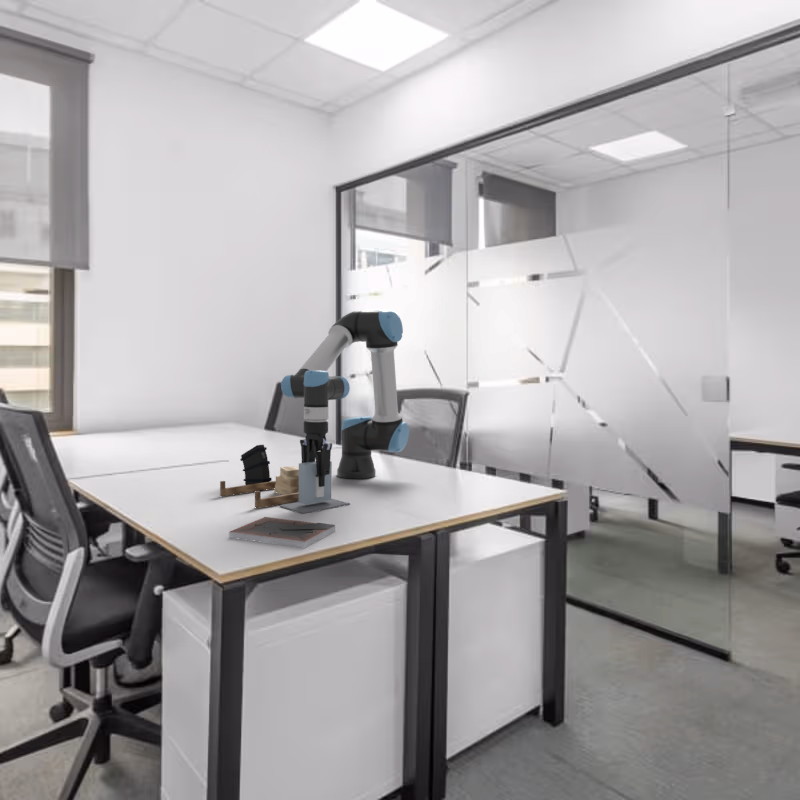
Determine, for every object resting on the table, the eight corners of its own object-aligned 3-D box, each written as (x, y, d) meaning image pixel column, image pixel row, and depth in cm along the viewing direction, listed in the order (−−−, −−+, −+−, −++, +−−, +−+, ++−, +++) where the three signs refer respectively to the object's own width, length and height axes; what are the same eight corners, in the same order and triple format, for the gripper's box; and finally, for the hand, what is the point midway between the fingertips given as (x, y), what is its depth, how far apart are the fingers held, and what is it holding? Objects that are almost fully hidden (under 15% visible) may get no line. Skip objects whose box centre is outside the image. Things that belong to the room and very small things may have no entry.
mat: (326, 498, 203) (326, 497, 203) (349, 504, 194) (349, 503, 194) (279, 506, 190) (279, 505, 190) (303, 513, 181) (303, 512, 181)
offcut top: (294, 475, 212) (294, 466, 212) (301, 478, 206) (301, 469, 206) (280, 476, 210) (280, 467, 210) (287, 479, 204) (287, 470, 204)
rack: (286, 486, 221) (287, 466, 221) (325, 496, 205) (325, 475, 205) (220, 496, 203) (220, 475, 202) (257, 508, 187) (257, 485, 186)
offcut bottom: (289, 491, 214) (289, 482, 214) (305, 496, 207) (306, 487, 207) (274, 493, 210) (274, 484, 210) (290, 498, 203) (290, 489, 203)
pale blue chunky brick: (324, 497, 197) (324, 460, 196) (331, 499, 194) (331, 461, 193) (298, 502, 190) (298, 463, 189) (305, 504, 187) (305, 465, 186)
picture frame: (335, 533, 164) (265, 524, 172) (335, 524, 164) (265, 516, 171) (304, 551, 149) (229, 540, 156) (304, 540, 148) (229, 530, 156)
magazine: (268, 486, 212) (256, 445, 215) (247, 497, 220) (236, 457, 223) (277, 484, 215) (265, 444, 218) (256, 495, 223) (245, 456, 226)
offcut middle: (291, 483, 214) (291, 474, 214) (305, 487, 207) (305, 478, 207) (275, 485, 210) (275, 476, 210) (289, 489, 203) (289, 480, 203)
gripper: (290, 419, 194) (289, 493, 195) (323, 423, 182) (322, 502, 183) (309, 417, 199) (309, 489, 200) (342, 422, 187) (341, 498, 189)
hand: (315, 495), depth 192 cm, fingers closed on pale blue chunky brick, 3 cm apart
